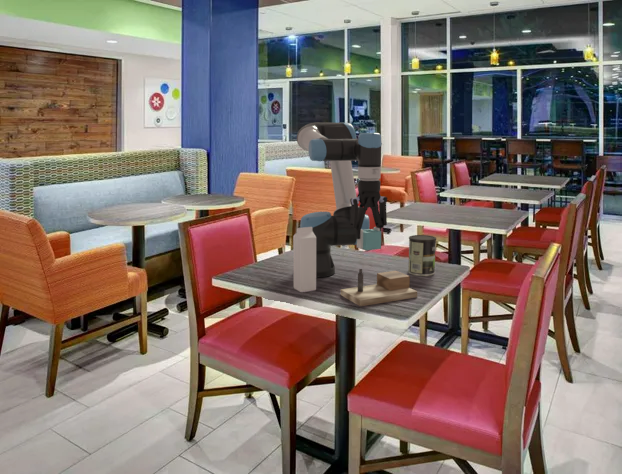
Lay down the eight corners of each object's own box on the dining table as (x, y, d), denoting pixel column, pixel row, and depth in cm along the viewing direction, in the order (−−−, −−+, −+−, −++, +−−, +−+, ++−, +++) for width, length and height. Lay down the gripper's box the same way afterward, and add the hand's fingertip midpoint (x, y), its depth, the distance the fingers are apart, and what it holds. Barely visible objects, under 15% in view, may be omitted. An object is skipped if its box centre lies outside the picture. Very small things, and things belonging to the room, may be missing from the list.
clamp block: (376, 284, 189) (377, 273, 188) (396, 281, 193) (396, 270, 192) (389, 290, 182) (390, 279, 181) (409, 287, 186) (409, 276, 185)
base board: (340, 295, 184) (340, 267, 182) (395, 286, 194) (395, 260, 192) (360, 306, 173) (360, 277, 171) (417, 297, 182) (418, 269, 180)
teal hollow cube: (356, 247, 188) (356, 230, 187) (371, 245, 191) (371, 229, 190) (366, 250, 183) (366, 232, 182) (381, 248, 185) (381, 231, 184)
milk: (293, 288, 192) (292, 226, 188) (308, 285, 195) (308, 225, 191) (301, 292, 187) (300, 229, 183) (316, 290, 190) (316, 227, 185)
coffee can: (434, 270, 216) (436, 235, 213) (434, 277, 206) (436, 240, 203) (408, 268, 218) (409, 234, 215) (407, 275, 208) (408, 239, 205)
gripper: (350, 181, 175) (350, 252, 179) (399, 179, 184) (397, 246, 188) (339, 180, 182) (338, 247, 186) (386, 177, 190) (384, 242, 194)
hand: (368, 247), depth 187 cm, fingers closed on teal hollow cube, 6 cm apart
